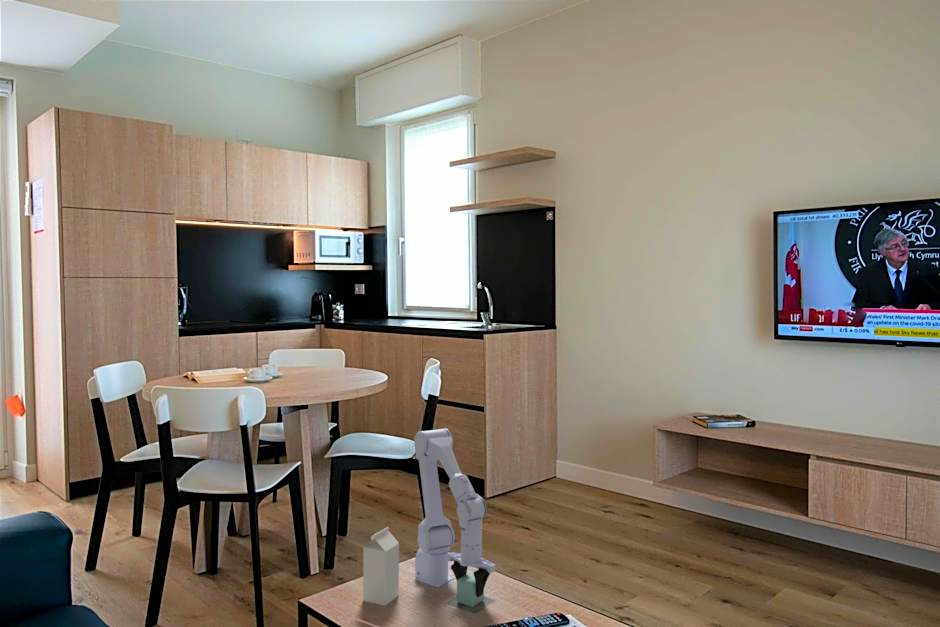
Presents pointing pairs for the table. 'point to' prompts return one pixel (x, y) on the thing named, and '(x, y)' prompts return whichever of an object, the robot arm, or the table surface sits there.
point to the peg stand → (473, 609)
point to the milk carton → (381, 568)
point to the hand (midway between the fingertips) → (470, 592)
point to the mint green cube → (468, 591)
